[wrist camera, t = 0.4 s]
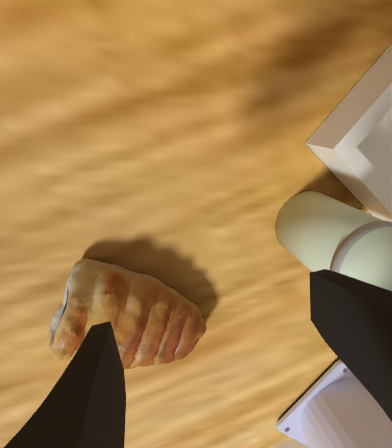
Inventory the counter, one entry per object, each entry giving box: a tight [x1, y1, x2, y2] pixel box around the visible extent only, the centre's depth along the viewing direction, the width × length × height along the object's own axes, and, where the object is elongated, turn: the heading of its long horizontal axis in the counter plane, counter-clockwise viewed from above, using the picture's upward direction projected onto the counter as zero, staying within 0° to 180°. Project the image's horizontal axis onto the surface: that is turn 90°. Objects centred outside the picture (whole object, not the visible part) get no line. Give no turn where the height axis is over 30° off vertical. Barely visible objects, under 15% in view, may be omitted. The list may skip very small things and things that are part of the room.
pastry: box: [49, 259, 206, 369], centre depth 21 cm, size 9×7×4 cm
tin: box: [275, 191, 392, 291], centre depth 20 cm, size 5×5×7 cm
